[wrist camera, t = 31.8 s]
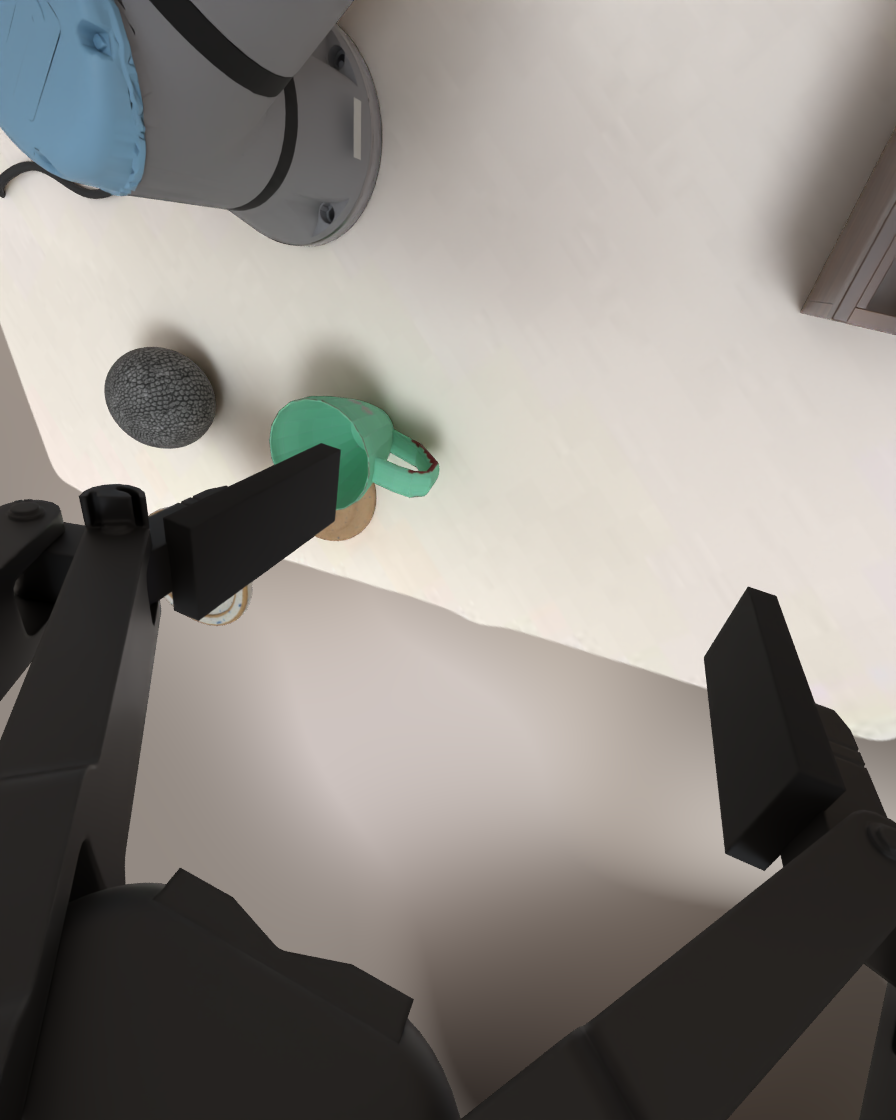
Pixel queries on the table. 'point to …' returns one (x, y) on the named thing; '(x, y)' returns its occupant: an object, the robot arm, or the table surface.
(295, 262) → the table surface
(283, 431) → the mug
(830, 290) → the walnut box
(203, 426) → the decorative ball
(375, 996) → the robot arm
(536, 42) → the table surface
